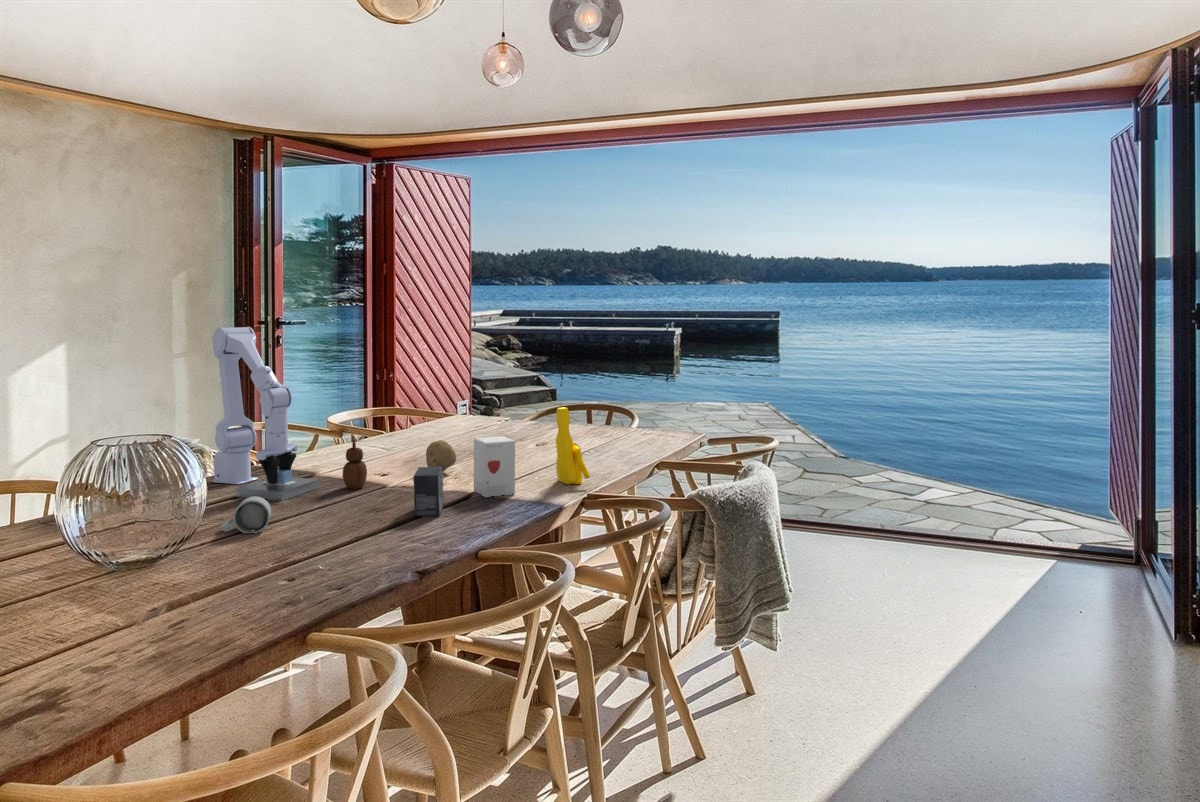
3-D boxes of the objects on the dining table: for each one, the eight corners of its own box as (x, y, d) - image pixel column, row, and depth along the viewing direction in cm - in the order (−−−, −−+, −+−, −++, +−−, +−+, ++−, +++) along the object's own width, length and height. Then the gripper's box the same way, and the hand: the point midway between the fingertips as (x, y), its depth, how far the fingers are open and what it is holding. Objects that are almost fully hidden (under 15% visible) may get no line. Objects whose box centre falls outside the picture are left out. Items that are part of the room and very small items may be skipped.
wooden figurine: (359, 491, 240) (357, 437, 238) (339, 489, 241) (338, 436, 239) (370, 485, 246) (369, 433, 244) (351, 484, 247) (350, 432, 245)
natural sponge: (459, 470, 268) (459, 438, 267) (451, 476, 259) (451, 443, 258) (430, 469, 269) (430, 437, 268) (422, 475, 260) (421, 442, 259)
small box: (418, 506, 223) (417, 466, 222) (444, 506, 223) (443, 466, 222) (413, 517, 212) (412, 474, 211) (440, 516, 213) (439, 474, 212)
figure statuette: (595, 487, 246) (596, 410, 244) (570, 490, 243) (571, 412, 240) (567, 475, 262) (568, 403, 259) (543, 478, 258) (544, 404, 256)
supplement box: (484, 498, 233) (483, 442, 231) (473, 491, 241) (472, 437, 239) (516, 494, 237) (515, 440, 235) (503, 488, 245) (503, 435, 243)
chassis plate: (237, 497, 231) (236, 487, 231) (276, 484, 246) (275, 475, 246) (281, 501, 227) (281, 491, 227) (318, 488, 242) (318, 479, 242)
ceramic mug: (272, 523, 205) (270, 491, 204) (270, 532, 197) (268, 499, 196) (224, 527, 202) (221, 495, 201) (219, 537, 194) (217, 503, 193)
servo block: (263, 493, 236) (262, 471, 235) (272, 490, 240) (271, 468, 239) (287, 495, 234) (286, 473, 233) (296, 492, 237) (295, 470, 236)
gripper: (271, 436, 227) (273, 488, 228) (306, 428, 240) (307, 477, 242) (248, 435, 229) (251, 486, 230) (284, 427, 242) (286, 475, 244)
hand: (278, 481), depth 236 cm, fingers open, 4 cm apart
